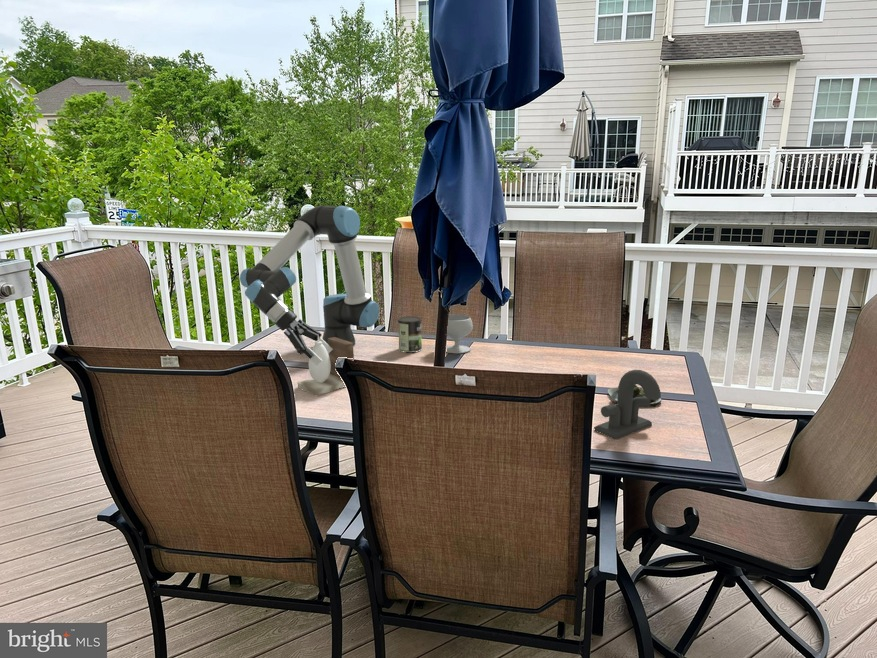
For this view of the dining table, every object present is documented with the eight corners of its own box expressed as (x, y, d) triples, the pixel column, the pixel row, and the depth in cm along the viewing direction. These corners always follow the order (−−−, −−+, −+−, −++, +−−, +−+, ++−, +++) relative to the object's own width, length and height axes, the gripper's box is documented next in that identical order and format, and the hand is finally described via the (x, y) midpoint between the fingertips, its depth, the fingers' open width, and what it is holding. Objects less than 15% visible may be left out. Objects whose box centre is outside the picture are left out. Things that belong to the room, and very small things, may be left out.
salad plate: (598, 388, 225) (599, 376, 224) (647, 388, 225) (648, 376, 224) (612, 408, 207) (613, 395, 205) (665, 408, 206) (667, 395, 205)
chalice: (456, 344, 281) (456, 311, 277) (479, 350, 271) (479, 317, 267) (434, 350, 271) (434, 317, 267) (457, 357, 262) (457, 322, 258)
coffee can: (423, 346, 277) (423, 316, 273) (419, 353, 267) (419, 322, 263) (401, 346, 278) (400, 315, 275) (396, 352, 268) (395, 321, 265)
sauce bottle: (334, 383, 225) (332, 335, 220) (313, 387, 221) (310, 338, 217) (327, 377, 232) (324, 330, 227) (307, 380, 228) (304, 333, 223)
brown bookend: (336, 376, 238) (334, 336, 234) (354, 384, 230) (353, 343, 226) (297, 387, 227) (294, 345, 223) (315, 395, 219) (313, 352, 214)
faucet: (635, 449, 176) (641, 383, 171) (592, 431, 188) (596, 368, 183) (673, 433, 186) (679, 370, 181) (630, 416, 199) (634, 357, 193)
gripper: (287, 315, 234) (328, 353, 236) (262, 332, 210) (307, 375, 212) (300, 301, 232) (341, 340, 234) (276, 317, 208) (321, 361, 211)
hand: (325, 357), depth 223 cm, fingers open, 13 cm apart
